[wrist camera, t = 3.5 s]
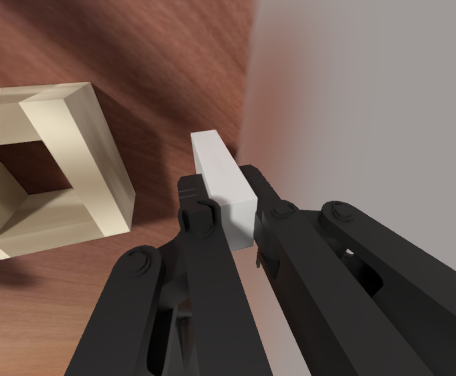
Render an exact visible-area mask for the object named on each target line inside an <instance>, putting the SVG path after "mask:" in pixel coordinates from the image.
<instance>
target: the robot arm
mask: <svg viewBox="0 0 456 376" xmlns="http://www.w3.org/2000/svg"><path fill="white" fill-rule="evenodd" d="M191 139H192V146H193V153H194V160H195V167H196V173H197V174H195V175H189V176H183V177H181V178H180V180H179V182H178V183H177V186H178V194H179V202H180V209H179V211H178V220H179V224H180V228H181V230H180V232H179V233H178V235H177V236H176V237H175V238H174V239H173V240H171V241H170V242H168V243H167V244H165V245H163V246H161V247H159V248H157V249H156V248H154V247H153V246H147V245H143V246H138V247H135V248H133V249H131V250H129V251H127V252H126V253H125V254H123V255H122V256H121V257H120V258H119V259H118V261H117V262H116V264H115V265H114V267H113V269H112V271H111V274H110V276H109V278H108V280H107V282H106V285H105V287H104V289H103V291H102V293H101V296H100V298H99V300H98V302H97V304H96V307H95V309H94V311H93V313H92V315H91V318H90V320H89V322H88V324H87V326H86V328H85V331H84V333H83V335H82V337H81V339H80V342H79V344H78V346H77V348H76V350H75V353H74V355H73V357H72V359H71V361H70V364H69V366H68V368H67V370H66V372H65V375H64V376H273V374H272V371H271V368H270V365H269V362H268V359H267V356H266V353H265V350H264V348H263V345H262V342H261V339H260V336H259V333H258V330H257V327H256V324H255V321H254V318H253V315H252V312H251V309H250V307H249V304H248V301H247V298H246V295H245V292H244V289H243V286H242V283H241V280H240V277H239V274H238V271H237V268H236V265H235V262H234V259H233V257H232V254H231V252H232V251H236V250H240V249H244V248H247V247H251V246H253V241H254V239H255V242H256V243H257V245H258V252H257V260H256V264H257V268H259V267H260V262H261V264H262V266H263V269H264V271H265V273H266V275H267V278H268V280H269V282H270V284H271V287H272V289H273V291H274V293H275V295H276V298H277V300H278V302H279V304H280V306H281V309H282V311H283V313H284V316H285V318H286V320H287V322H288V324H289V327H290V329H291V331H292V333H293V336H294V338H295V340H296V342H297V344H298V346H299V349H300V351H301V353H302V356H303V358H304V360H305V362H306V364H307V367H308V369H309V371H310V373H311V376H456V271H454V270H453V269H452V268H450V267H448V266H447V265H445V264H444V263H442V262H440V261H439V260H437V259H436V258H434V257H433V256H431V255H430V254H428V253H426V252H425V251H423V250H422V249H420V248H418V247H417V246H415V245H414V244H412V243H411V242H409V241H407V240H406V239H404V238H403V237H401V236H399V235H398V234H396V233H395V232H393V231H392V230H390V229H389V228H387V227H385V226H384V225H382V224H381V223H379V222H377V221H376V220H374V219H373V218H371V217H369V216H368V215H366V214H365V213H363V212H362V211H360V210H358V209H357V208H355V207H354V206H352V205H350V204H348V203H345V202H341V201H330V202H326V203H325V204H324V205H323V207H322V209H321V211H311V210H299V209H298V208H297V207H296V206H295V205H294V204H293V203H290V202H289V201H286V200H281V199H280V197H279V196H278V195H277V193H276V192H275V191H274V190H273V188H272V187H271V186H270V184H269V183H268V182H267V181H266V179H265V178H264V176H263V175H262V174H261V172H260V171H259V170H258V169H257V168H255V167H254V166H252V165H244V166H237V164H236V162H235V161H234V159H233V158H232V156H231V154H230V153H229V151H228V149H227V148H226V146H225V145H224V143H223V141H222V140H221V138H220V136H219V135H218V133H217V132H216V130H210V131H202V132H194V133H191ZM347 249H349V250H350V251H352V252H353V253H354V254H349V253H347V252H346V251H347Z"/></svg>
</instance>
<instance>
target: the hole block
mask: <svg viewBox="0 0 456 376" xmlns="http://www.w3.org/2000/svg"><path fill="white" fill-rule="evenodd" d="M37 140H43V142H44V143H45V145H46V146H47V148H48V150H49V151H50V153H51V154H52V156H53V157H54V159H55V160H56V162H57V163H58V165H59V167H60V168H61V170H62V171H63V173H64V174H65V176H66V177H67V179H68V180H69V182H70V184H71V185H72V187H73V188H69V189H63V190H57V191H51V192H45V193H39V194H33V195H28V193H27V192H26V191H25V190H24V189H23V188H22V186H21V185H20V184H19V183H18V182H17V180H16V179H15V178H14V177H13V176H12V175H11V173H10V172H9V171H8V170H7V169H6V167H5V166H4V165H3V164H2V163H1V162H0V260H1V259H6V258H10V257H15V256H19V255H24V254H29V253H33V252H38V251H42V250H47V249H52V248H56V247H61V246H65V245H70V244H75V243H79V242H84V241H88V240H93V239H98V238H102V237H107V236H111V235H116V234H121V233H125V232H130V230H131V223H132V216H133V209H134V202H135V195H136V193H135V191H134V188H133V186H132V184H131V181H130V179H129V176H128V174H127V171H126V169H125V166H124V164H123V161H122V159H121V157H120V154H119V152H118V149H117V147H116V144H115V142H114V139H113V137H112V134H111V132H110V129H109V127H108V125H107V122H106V120H105V117H104V115H103V112H102V110H101V107H100V105H99V102H98V100H97V98H96V95H95V93H94V90H93V88H92V85H91V83H90V82H81V83H67V84H52V85H37V86H22V87H7V88H0V145H3V144H11V143H20V142H29V141H37Z"/></svg>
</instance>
